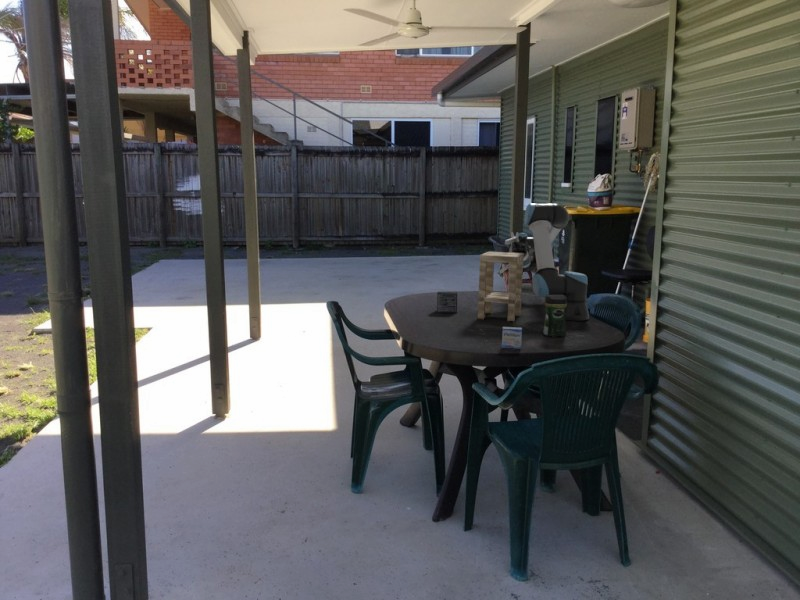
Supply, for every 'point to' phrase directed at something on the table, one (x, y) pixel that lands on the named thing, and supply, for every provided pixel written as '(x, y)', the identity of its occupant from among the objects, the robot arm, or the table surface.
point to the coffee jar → (555, 315)
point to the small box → (446, 302)
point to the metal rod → (511, 240)
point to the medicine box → (511, 337)
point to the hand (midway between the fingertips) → (514, 234)
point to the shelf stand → (487, 283)
